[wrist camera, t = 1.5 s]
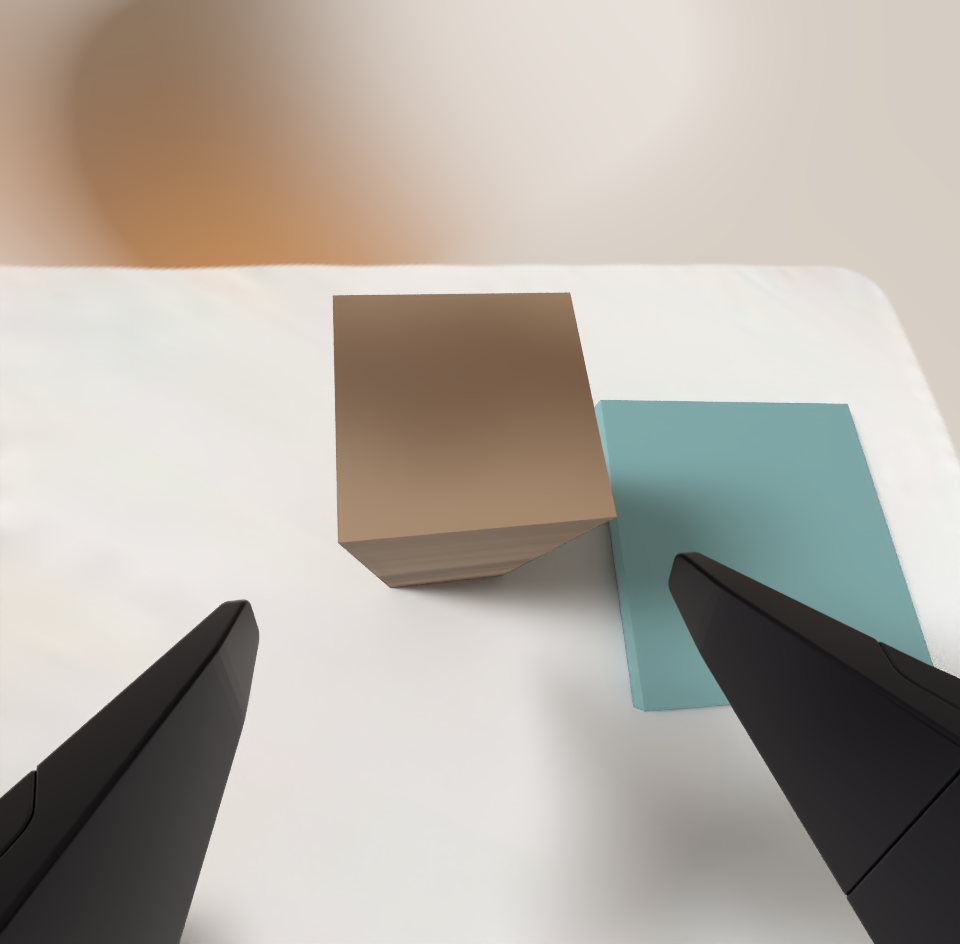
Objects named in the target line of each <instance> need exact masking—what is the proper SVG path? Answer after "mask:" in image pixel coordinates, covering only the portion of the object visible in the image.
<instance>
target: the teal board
mask: <svg viewBox="0 0 960 944" xmlns="http://www.w3.org/2000/svg"><path fill="white" fill-rule="evenodd" d="M594 409H595V414H596V419H597V424H598V429H599V433H600V438H601V443H602V448H603V452H604V457H605V462H606V467H607V472H608V476H609V481H610V486H611V491H612V496H613V500H614V505H615V510H616V515H617V517H616V518H614V519H612V520H610V521H609V528H610V535H611V542H612V550H613V557H614V565H615V572H616V579H617V587H618V594H619V602H620V609H621V616H622V624H623V631H624V639H625V646H626V654H627V661H628V668H629V676H630V683H631V691H632V698H633V705H634V707H636V708H638V709H640V710H643V711H656V710H668V709H681V708H693V707H706V706H718V705H730V703H729V702H728V700H727V698H726V697H725V695H724V693H723V692H722V690H721V688H720V687H719V685H718V683H717V682H716V680H715V678H714V677H713V675H712V673H711V672H710V670H709V668H708V667H707V665H706V663H705V662H704V660H703V658H702V656H701V655H700V653H699V651H698V649H697V647H696V645H695V643H694V641H693V639H692V637H691V635H690V633H689V631H688V629H687V627H686V624H685V622H684V620H683V618H682V616H681V614H680V612H679V610H678V608H677V606H676V603H675V601H674V599H673V597H672V595H671V593H670V590H669V586H668V580H669V576H670V572H671V569H672V565H673V561H674V558H675V556H676V555H677V554H678V553H680V552H688V551H696V552H699V553H701V554H703V555H705V556H707V557H709V558H711V559H713V560H715V561H717V562H719V563H721V564H723V565H725V566H727V567H729V568H731V569H734V570H736V571H738V572H740V573H742V574H744V575H746V576H748V577H750V578H752V579H754V580H756V581H758V582H760V583H762V584H764V585H766V586H768V587H770V588H772V589H774V590H776V591H779V592H781V593H783V594H785V595H787V596H789V597H791V598H793V599H795V600H797V601H799V602H801V603H803V604H805V605H807V606H809V607H811V608H813V609H815V610H817V611H819V612H822V613H824V614H826V615H828V616H830V617H832V618H834V619H836V620H838V621H840V622H842V623H844V624H846V625H848V626H850V627H852V628H854V629H856V630H858V631H860V632H862V633H865V634H867V635H869V636H871V637H873V638H875V639H876V640H877V641H878V642H883V643H885V644H887V645H889V646H891V647H893V648H895V649H897V650H899V651H901V652H903V653H906V654H908V655H910V656H912V657H914V658H916V659H918V660H920V661H922V662H925V663H927V664H929V665H931V666H933V664H932V661H931V658H930V655H929V652H928V649H927V646H926V643H925V640H924V637H923V633H922V630H921V627H920V624H919V621H918V618H917V615H916V612H915V609H914V606H913V603H912V600H911V597H910V594H909V591H908V588H907V585H906V581H905V578H904V575H903V572H902V569H901V566H900V563H899V560H898V557H897V554H896V551H895V548H894V545H893V542H892V539H891V536H890V532H889V529H888V526H887V523H886V520H885V517H884V514H883V511H882V508H881V505H880V502H879V499H878V496H877V493H876V490H875V487H874V483H873V480H872V477H871V474H870V471H869V468H868V465H867V462H866V459H865V456H864V453H863V450H862V447H861V444H860V441H859V438H858V434H857V431H856V428H855V425H854V422H853V419H852V416H851V413H850V410H849V407H848V404H818V403H755V402H693V401H630V400H600V402H599V403H598V404H597V405H596V406H595V408H594Z"/></svg>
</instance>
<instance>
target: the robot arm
mask: <svg viewBox="0 0 960 944" xmlns="http://www.w3.org/2000/svg"><path fill="white" fill-rule="evenodd" d="M668 586H669V590H670V593H671V595H672V597H673V599H674V601H675V603H676V606H677V608H678V610H679V612H680V614H681V616H682V618H683V620H684V622H685V624H686V627H687V629H688V631H689V633H690V635H691V637H692V639H693V641H694V643H695V645H696V647H697V649H698V651H699V653H700V655H701V656H702V658H703V660H704V662H705V663H706V665H707V667H708V668H709V670H710V672H711V673H712V675H713V677H714V678H715V680H716V682H717V683H718V685H719V687H720V688H721V690H722V692H723V693H724V695H725V697H726V698H727V700H728V702H729V703H730V705H731V707H732V708H733V710H734V712H735V713H736V715H737V717H738V718H739V720H740V722H741V723H742V725H743V727H744V728H745V730H746V732H747V733H748V735H749V736H750V738H751V740H752V741H753V743H754V745H755V746H756V748H757V750H758V751H759V753H760V755H761V756H762V758H763V760H764V761H765V763H766V765H767V766H768V768H769V770H770V771H771V773H772V775H773V776H774V778H775V780H776V781H777V783H778V785H779V786H780V788H781V790H782V791H783V793H784V795H785V796H786V798H787V800H788V801H789V803H790V804H791V806H792V808H793V809H794V811H795V813H796V814H797V816H798V818H799V819H800V821H801V823H802V824H803V826H804V828H805V829H806V831H807V833H808V834H809V836H810V838H811V839H812V841H813V843H814V844H815V846H816V848H817V849H818V851H819V853H820V854H821V856H822V858H823V859H824V861H825V863H826V864H827V866H828V868H829V869H830V871H831V873H832V874H833V876H834V877H835V879H836V881H837V882H838V884H839V886H840V887H841V889H842V891H843V892H844V894H845V895H847V900H848V901H849V903H850V905H851V906H852V908H853V910H854V911H855V913H856V915H857V916H858V918H859V920H860V921H861V923H862V925H863V926H864V928H865V929H866V931H867V933H868V934H869V936H870V938H871V939H872V941H873V943H874V944H960V679H959V678H957V677H955V676H953V675H950V674H948V673H946V672H944V671H941V670H939V669H937V668H935V667H933V666H931V665H929V664H927V663H925V662H922V661H920V660H918V659H916V658H914V657H912V656H910V655H908V654H906V653H903V652H901V651H899V650H897V649H895V648H893V647H891V646H889V645H887V644H885V643H883V642H878V641H877V640H876V639H875V638H873V637H871V636H869V635H867V634H865V633H862V632H860V631H858V630H856V629H854V628H852V627H850V626H848V625H846V624H844V623H842V622H840V621H838V620H836V619H834V618H832V617H830V616H828V615H826V614H824V613H822V612H819V611H817V610H815V609H813V608H811V607H809V606H807V605H805V604H803V603H801V602H799V601H797V600H795V599H793V598H791V597H789V596H787V595H785V594H783V593H781V592H779V591H776V590H774V589H772V588H770V587H768V586H766V585H764V584H762V583H760V582H758V581H756V580H754V579H752V578H750V577H748V576H746V575H744V574H742V573H740V572H738V571H736V570H734V569H731V568H729V567H727V566H725V565H723V564H721V563H719V562H717V561H715V560H713V559H711V558H709V557H707V556H705V555H703V554H701V553H699V552H696V551H688V552H680V553H678V554H677V555H676V556H675V558H674V561H673V565H672V569H671V572H670V576H669V580H668ZM258 644H259V629H258V626H257V623H256V620H255V617H254V613H253V610H252V607H251V604H250V603H249V601H247V600H235V601H227V602H224V603H223V604H221V605H220V606H219V607H218V608H217V609H215V610H214V611H213V612H212V613H211V614H210V615H209V616H208V617H206V618H205V619H204V620H203V621H202V622H201V623H200V624H198V625H197V626H196V627H195V628H194V629H193V630H192V631H190V632H189V633H188V634H187V635H186V636H185V637H184V638H182V639H181V640H180V641H179V642H178V643H177V644H176V645H174V646H173V647H172V648H171V649H170V650H169V651H168V652H166V653H165V654H164V655H163V656H162V657H161V658H160V659H159V660H157V661H156V662H155V663H154V664H153V665H152V666H151V667H149V668H148V669H147V670H146V671H145V672H144V673H143V674H141V675H140V676H139V677H138V678H137V679H136V680H135V681H133V682H132V683H131V684H130V685H129V686H128V687H127V688H125V689H124V690H123V691H122V692H121V693H120V694H119V695H117V696H116V697H115V698H114V699H113V700H112V701H111V702H110V703H108V704H107V705H106V706H105V707H104V708H103V709H102V710H100V711H99V712H98V713H97V714H96V715H95V716H94V717H92V718H91V719H90V720H89V721H88V722H87V723H86V724H84V725H83V726H82V727H81V728H80V729H79V730H78V731H76V732H75V733H74V734H73V735H72V736H71V737H70V738H68V739H67V740H66V741H65V742H64V743H63V744H62V745H61V746H59V747H58V748H57V749H56V750H55V751H54V752H53V753H51V754H50V755H49V756H48V757H47V758H46V759H45V760H43V761H42V762H41V763H40V764H39V765H38V766H37V770H34V771H31V772H30V773H28V774H27V775H26V776H25V777H24V778H23V779H22V780H20V781H19V782H18V783H17V784H16V785H15V786H14V787H12V788H11V789H10V790H9V791H8V792H7V793H6V794H4V795H3V796H2V797H1V798H0V944H179V943H180V939H181V936H182V933H183V929H184V926H185V922H186V919H187V916H188V912H189V909H190V905H191V902H192V899H193V895H194V892H195V888H196V885H197V882H198V878H199V875H200V871H201V868H202V865H203V861H204V858H205V854H206V851H207V848H208V844H209V841H210V837H211V834H212V831H213V827H214V824H215V820H216V817H217V814H218V810H219V807H220V803H221V800H222V797H223V793H224V790H225V786H226V783H227V780H228V776H229V773H230V769H231V766H232V763H233V759H234V756H235V752H236V749H237V746H238V742H239V739H240V735H241V732H242V728H243V724H244V721H245V716H246V711H247V706H248V701H249V695H250V689H251V684H252V678H253V672H254V666H255V661H256V655H257V649H258Z"/></svg>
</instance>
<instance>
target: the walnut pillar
mask: <svg viewBox="0 0 960 944" xmlns="http://www.w3.org/2000/svg"><path fill="white" fill-rule="evenodd" d="M333 325H334V373H335V421H336V469H337V517H338V543H339V544H340V545H341V546H342V547H343V548H345V549H346V550H347V551H348V552H349V553H350V554H352V555H353V556H354V557H355V558H356V559H357V560H359V561H360V562H361V563H362V564H363V565H364V566H365V567H367V568H368V569H369V570H370V571H371V572H372V573H374V574H375V575H376V576H377V577H378V578H379V579H380V580H382V581H383V582H384V583H385V584H386V585H387V586H389V587H390V588H391V587H400V586H409V585H419V584H428V583H437V582H446V581H455V580H464V579H473V578H482V577H492V576H501V575H504V574H506V573H508V572H510V571H512V570H514V569H516V568H518V567H520V566H522V565H524V564H526V563H528V562H530V561H531V560H533V559H535V558H537V557H539V556H541V555H543V554H545V553H547V552H549V551H551V550H553V549H555V548H557V547H559V546H561V545H563V544H565V543H567V542H569V541H571V540H573V539H575V538H576V537H578V536H580V535H582V534H584V533H586V532H588V531H590V530H592V529H594V528H596V527H598V526H600V525H602V524H604V523H606V522H608V521H610V520H612V519H614V518H616V517H617V515H616V510H615V505H614V500H613V496H612V491H611V486H610V481H609V476H608V472H607V467H606V462H605V457H604V452H603V448H602V443H601V438H600V433H599V429H598V424H597V419H596V414H595V409H594V405H593V400H592V395H591V390H590V386H589V381H588V376H587V371H586V366H585V362H584V357H583V352H582V347H581V343H580V338H579V333H578V328H577V323H576V319H575V314H574V309H573V304H572V300H571V295H570V293H503V294H421V295H338V296H333Z"/></svg>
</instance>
